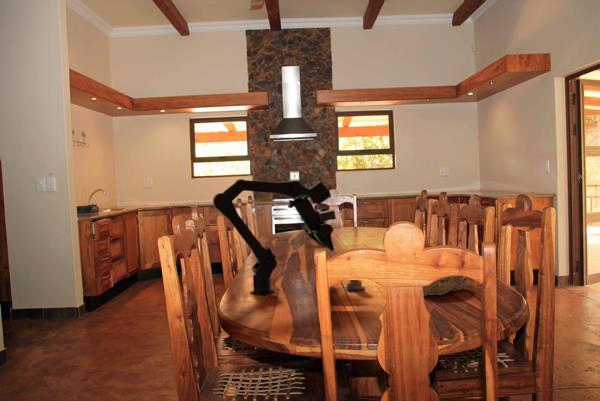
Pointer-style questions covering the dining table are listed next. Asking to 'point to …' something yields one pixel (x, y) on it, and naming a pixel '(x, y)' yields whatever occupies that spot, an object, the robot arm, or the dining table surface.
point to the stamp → (354, 285)
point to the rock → (446, 285)
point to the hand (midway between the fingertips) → (329, 248)
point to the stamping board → (354, 291)
